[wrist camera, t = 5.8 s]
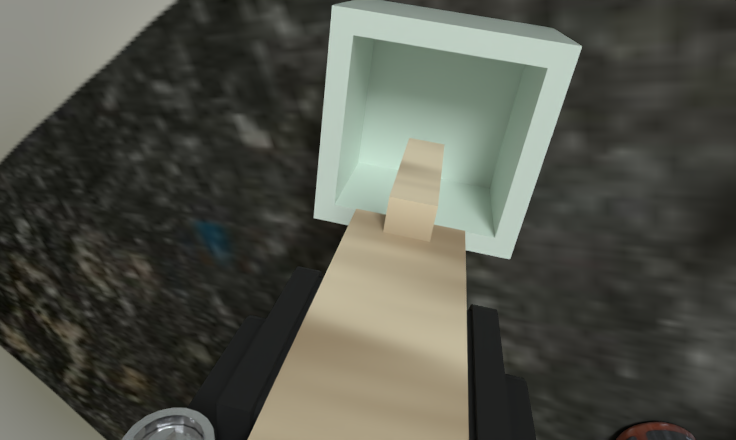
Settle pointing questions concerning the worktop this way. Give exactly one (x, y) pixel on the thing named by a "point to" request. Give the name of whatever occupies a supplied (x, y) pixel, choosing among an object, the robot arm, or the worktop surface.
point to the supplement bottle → (656, 432)
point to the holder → (440, 112)
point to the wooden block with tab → (383, 327)
